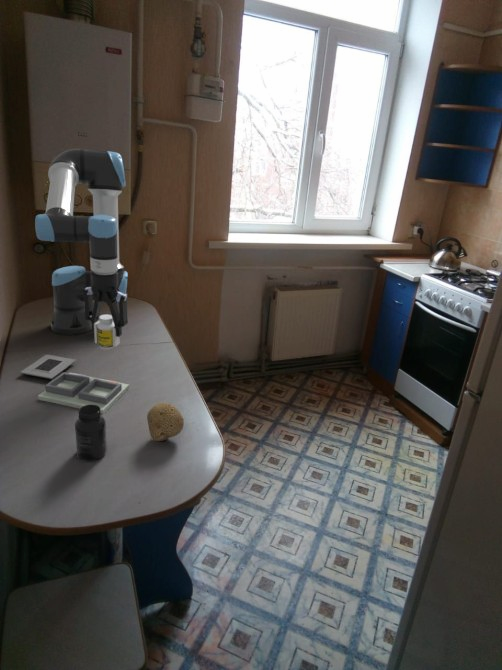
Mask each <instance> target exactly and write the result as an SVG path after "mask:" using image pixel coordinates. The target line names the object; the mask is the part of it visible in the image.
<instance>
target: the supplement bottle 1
mask: <svg viewBox="0 0 502 670" xmlns="http://www.w3.org/2000/svg"><path fill="white" fill-rule="evenodd" d="M74 431H75V432H74V433H75V445H76V446H75V447H76V448H75V449H76V454H77V457H78V458H79V459H80V460H83V461H87V462H88V461H89V462H91V461H96V460H99V459H101V458H103V457H104V456H106V455H105V454H107V451H108V450H107V449H108V445H107V443H108V442H107V422H106V419H105V418H104V416H103V415H102V413H101V409H100V407H99V406H97V405H85V406H83V407H81V408H80V409H79V408H78V418H77V419H76V421H75V423H74Z"/></svg>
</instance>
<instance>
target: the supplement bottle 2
mask: <svg viewBox="0 0 502 670" xmlns="http://www.w3.org/2000/svg"><path fill="white" fill-rule="evenodd" d="M98 321H100V323H98V325H97V331H98V343H97V344H98V345H97V346H98V348H100V349H103V350H110V349H111V350H112V349H113V348H115V347H113V330H112V327H114V326H115V325H114V322H113V318H112V315H111V314H101V315H99V320H98Z"/></svg>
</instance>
